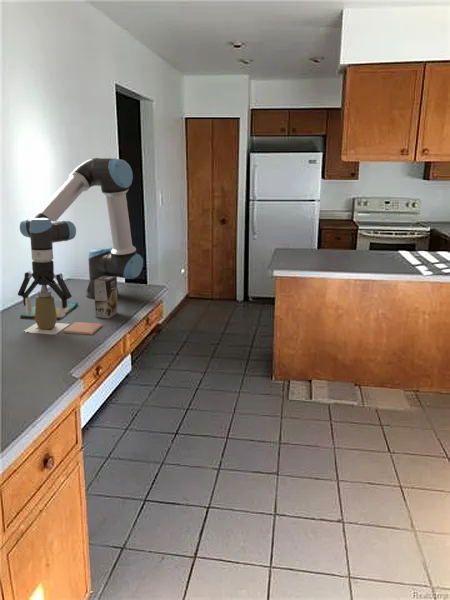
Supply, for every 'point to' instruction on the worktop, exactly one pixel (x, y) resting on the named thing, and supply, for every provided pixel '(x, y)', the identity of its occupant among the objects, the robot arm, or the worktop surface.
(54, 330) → the white flat square slab
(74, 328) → the coaster pad
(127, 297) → the worktop surface
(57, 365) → the worktop surface
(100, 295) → the coffee box
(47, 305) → the squeeze bottle
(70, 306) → the dish towel
